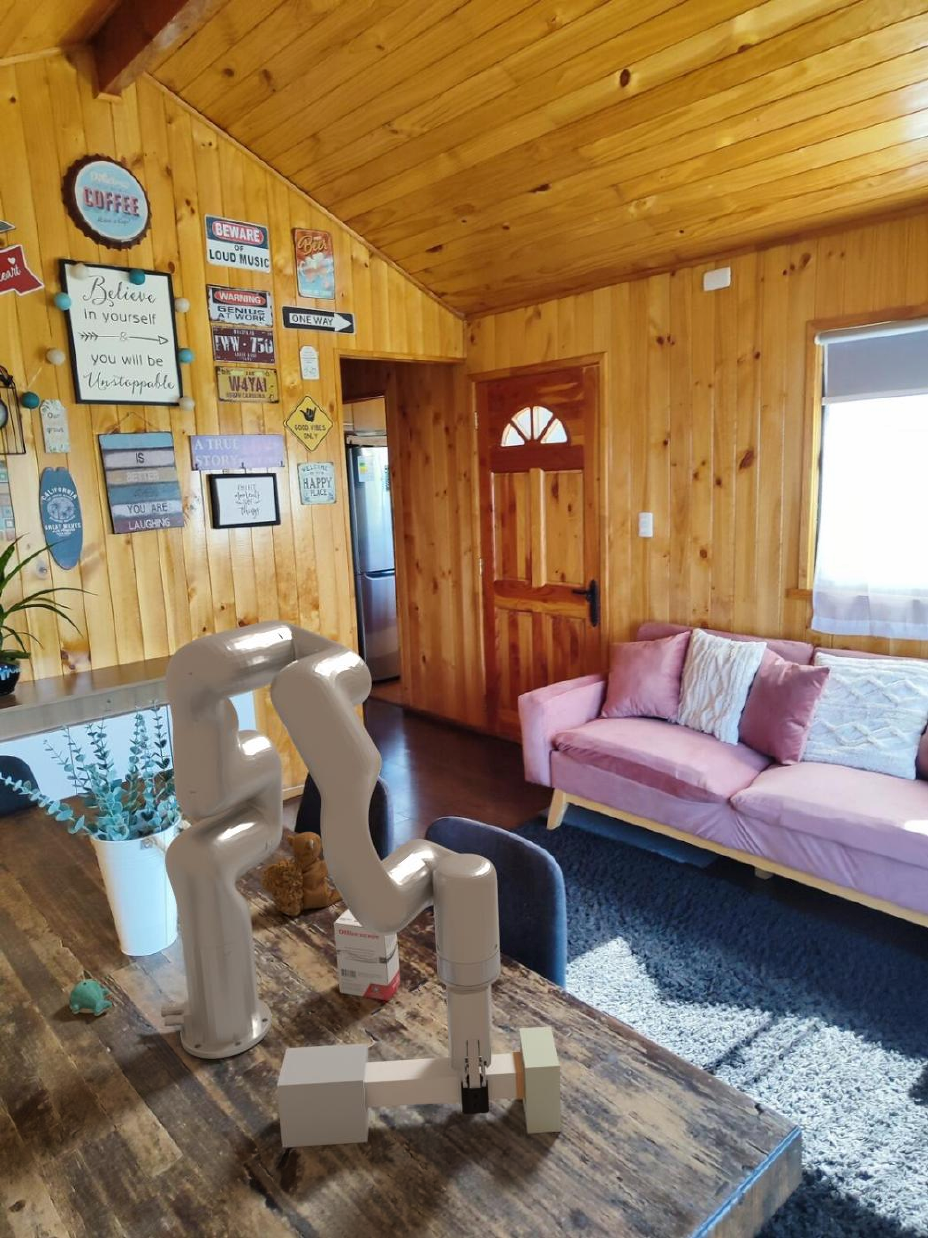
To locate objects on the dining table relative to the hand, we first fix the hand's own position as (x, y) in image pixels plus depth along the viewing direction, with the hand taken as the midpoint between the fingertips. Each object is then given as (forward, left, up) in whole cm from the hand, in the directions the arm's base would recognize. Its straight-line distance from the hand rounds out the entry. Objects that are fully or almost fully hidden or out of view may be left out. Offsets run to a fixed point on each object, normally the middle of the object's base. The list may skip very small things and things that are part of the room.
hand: (474, 1096), depth 100 cm
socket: (+8, 0, -2) cm, 8 cm away
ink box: (-15, +27, -3) cm, 31 cm away
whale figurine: (-57, +26, -3) cm, 63 cm away
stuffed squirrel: (-30, +54, -3) cm, 62 cm away
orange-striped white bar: (-3, 0, +1) cm, 4 cm away
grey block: (-18, 0, -2) cm, 18 cm away
